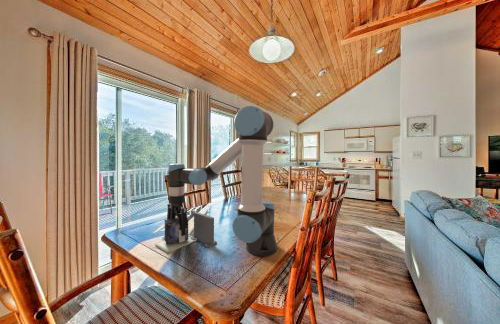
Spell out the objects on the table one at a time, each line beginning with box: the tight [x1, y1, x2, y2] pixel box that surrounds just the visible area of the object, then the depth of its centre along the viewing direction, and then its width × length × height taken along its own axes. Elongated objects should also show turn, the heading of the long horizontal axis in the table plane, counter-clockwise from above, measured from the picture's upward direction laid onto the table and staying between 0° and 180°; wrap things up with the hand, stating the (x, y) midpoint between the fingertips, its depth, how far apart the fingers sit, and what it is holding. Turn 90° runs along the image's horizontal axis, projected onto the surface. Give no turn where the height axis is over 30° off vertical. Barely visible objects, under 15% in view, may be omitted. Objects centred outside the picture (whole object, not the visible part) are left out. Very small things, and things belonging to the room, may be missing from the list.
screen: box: [191, 211, 218, 249], centre depth 101 cm, size 14×6×14 cm, turn 52°
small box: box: [164, 217, 189, 244], centre depth 99 cm, size 11×6×10 cm, turn 122°
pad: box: [154, 234, 198, 254], centre depth 99 cm, size 11×17×1 cm, turn 142°
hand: (177, 239), depth 99 cm, fingers closed on small box, 8 cm apart
